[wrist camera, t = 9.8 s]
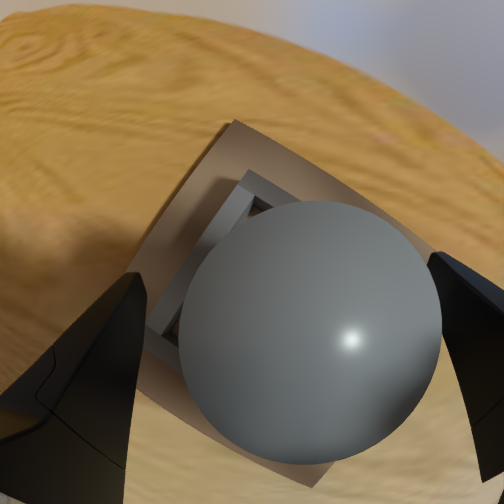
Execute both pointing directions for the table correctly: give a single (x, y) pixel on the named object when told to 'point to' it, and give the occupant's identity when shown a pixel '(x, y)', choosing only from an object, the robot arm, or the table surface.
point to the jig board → (206, 238)
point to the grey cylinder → (310, 332)
